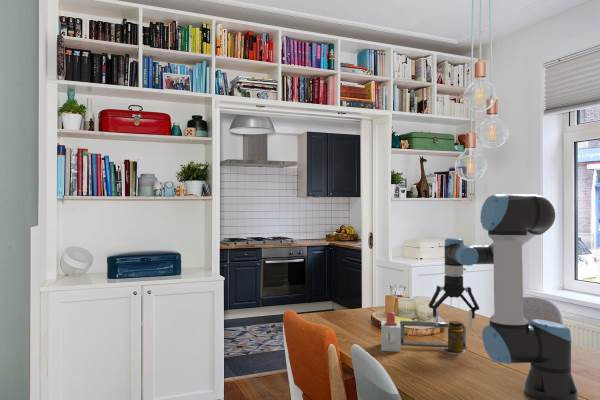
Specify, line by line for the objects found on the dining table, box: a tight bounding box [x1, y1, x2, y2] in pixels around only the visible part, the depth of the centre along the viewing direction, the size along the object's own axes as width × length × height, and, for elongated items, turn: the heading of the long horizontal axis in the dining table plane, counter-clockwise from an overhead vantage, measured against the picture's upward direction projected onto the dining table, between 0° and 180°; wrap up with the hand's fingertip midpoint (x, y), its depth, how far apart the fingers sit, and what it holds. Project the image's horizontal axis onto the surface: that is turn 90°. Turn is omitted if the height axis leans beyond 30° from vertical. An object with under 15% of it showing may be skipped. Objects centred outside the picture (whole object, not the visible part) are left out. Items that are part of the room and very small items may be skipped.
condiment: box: [440, 320, 468, 355], centre depth 199 cm, size 7×8×12 cm
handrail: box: [399, 320, 467, 349], centre depth 207 cm, size 28×3×10 cm, turn 80°
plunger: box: [385, 311, 396, 326], centre depth 204 cm, size 4×4×9 cm
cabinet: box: [380, 320, 402, 353], centre depth 203 cm, size 11×8×10 cm
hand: (453, 325), depth 200 cm, fingers open, 13 cm apart
